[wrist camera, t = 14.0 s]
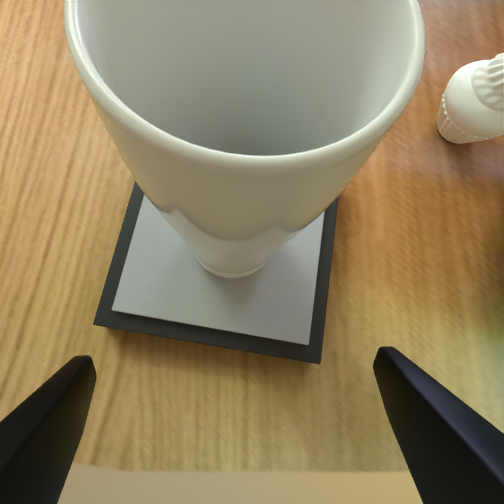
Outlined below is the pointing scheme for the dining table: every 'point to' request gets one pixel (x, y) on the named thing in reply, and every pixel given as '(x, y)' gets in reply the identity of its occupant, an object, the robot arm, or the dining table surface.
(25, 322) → the dining table surface
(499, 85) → the muffin
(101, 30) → the white cup
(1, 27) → the dining table surface
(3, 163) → the dining table surface
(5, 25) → the dining table surface
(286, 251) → the scale
